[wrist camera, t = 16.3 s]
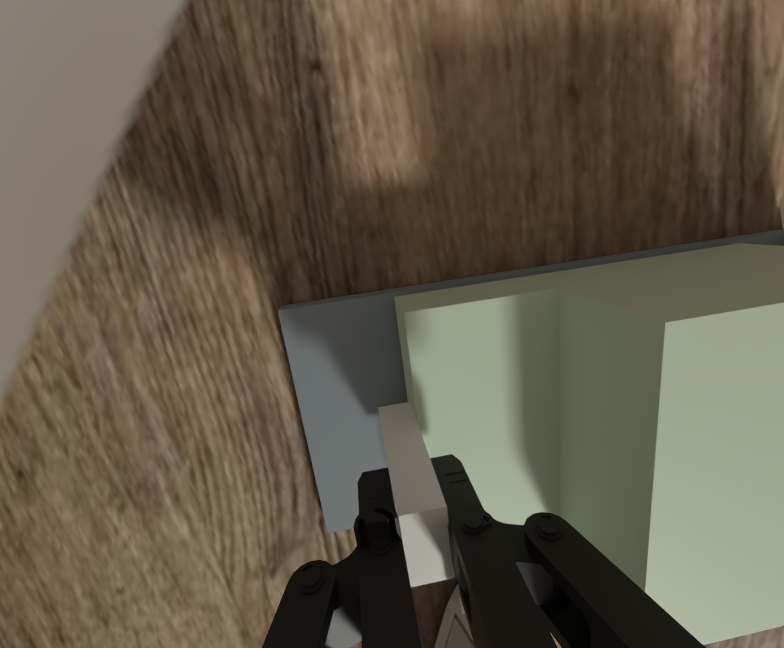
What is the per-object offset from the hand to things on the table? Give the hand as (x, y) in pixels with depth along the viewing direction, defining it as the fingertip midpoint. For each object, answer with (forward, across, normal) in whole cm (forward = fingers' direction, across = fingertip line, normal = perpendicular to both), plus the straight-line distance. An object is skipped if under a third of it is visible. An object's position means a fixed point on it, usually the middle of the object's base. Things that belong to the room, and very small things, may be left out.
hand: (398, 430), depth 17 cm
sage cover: (+1, +9, 0) cm, 9 cm away
